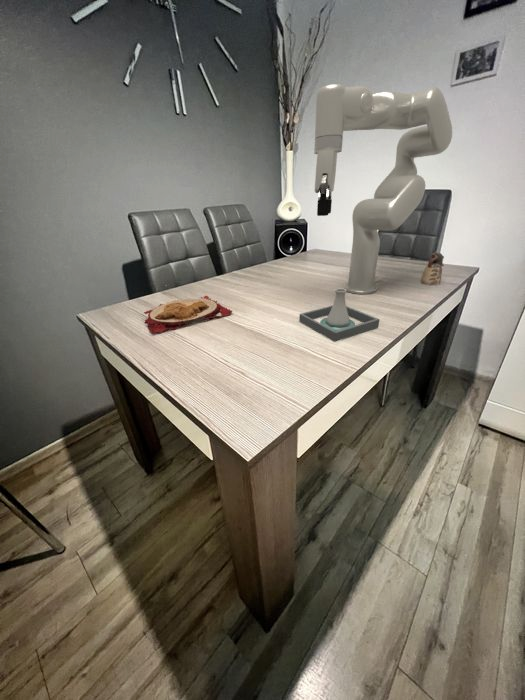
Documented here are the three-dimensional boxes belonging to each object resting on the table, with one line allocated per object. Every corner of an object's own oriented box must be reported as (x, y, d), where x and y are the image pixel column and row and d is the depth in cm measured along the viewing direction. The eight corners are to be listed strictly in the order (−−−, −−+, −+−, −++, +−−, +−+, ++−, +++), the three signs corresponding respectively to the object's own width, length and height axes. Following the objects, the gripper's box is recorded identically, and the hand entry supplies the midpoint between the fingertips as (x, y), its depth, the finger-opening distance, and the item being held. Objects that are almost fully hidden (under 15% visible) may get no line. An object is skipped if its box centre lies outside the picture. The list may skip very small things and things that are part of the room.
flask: (323, 318, 84) (325, 286, 79) (346, 317, 84) (350, 285, 79) (327, 328, 78) (330, 294, 73) (353, 327, 77) (357, 293, 72)
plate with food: (234, 317, 92) (233, 307, 90) (152, 336, 80) (149, 325, 78) (207, 299, 110) (206, 290, 109) (138, 312, 98) (135, 303, 97)
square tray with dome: (339, 310, 90) (340, 303, 89) (378, 327, 78) (379, 319, 76) (299, 321, 84) (299, 313, 82) (334, 341, 71) (335, 333, 70)
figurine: (444, 284, 110) (453, 253, 104) (429, 286, 108) (437, 254, 103) (431, 279, 116) (438, 250, 110) (416, 281, 115) (423, 251, 109)
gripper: (318, 151, 84) (315, 213, 93) (310, 143, 70) (307, 217, 78) (343, 149, 82) (338, 212, 91) (340, 139, 68) (334, 216, 76)
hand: (324, 214), depth 84 cm, fingers open, 9 cm apart
